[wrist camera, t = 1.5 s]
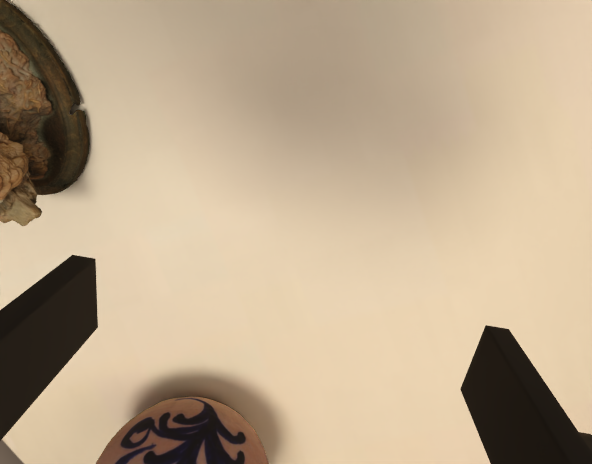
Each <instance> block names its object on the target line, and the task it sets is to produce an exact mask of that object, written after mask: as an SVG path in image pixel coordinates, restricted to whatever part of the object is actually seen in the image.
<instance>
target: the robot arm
mask: <svg viewBox="0 0 592 464" xmlns="http://www.w3.org/2000/svg"><path fill="white" fill-rule="evenodd" d="M97 327H98V322H97V293H96V264H95V259H93V258H87V257H81V256H75V255H72V256H71V257H69V258H68V259H67V260H65V261H64V262H63V263H62V264H60V265H59V266H58V267H56V268H55V269H54V270H52V271H51V272H50V273H48V274H47V275H46V276H45V277H43V278H42V279H41V280H39V281H38V282H37V283H35V284H34V285H33V286H32V287H30V288H29V289H28V290H26V291H25V292H24V293H22V294H21V295H20V296H18V297H17V298H16V299H15V300H13V301H12V302H11V303H9V304H8V305H7V306H5V307H4V308H3V309H1V310H0V440H1V439H2V438H3V437H4V436H5V435H6V434H7V432H8V431H9V430H10V429H11V428H12V427H13V425H14V424H15V423H16V422H17V421H18V420H19V418H20V417H21V416H22V415H23V414H24V413H25V411H26V410H27V409H28V408H29V407H30V406H31V404H32V403H33V402H34V401H35V400H36V399H37V397H38V396H39V395H40V394H41V393H42V392H43V390H44V389H45V388H46V387H47V386H48V385H49V383H50V382H51V381H52V380H53V379H54V378H55V376H56V375H57V374H58V373H59V372H60V371H61V369H62V368H63V367H64V366H65V365H66V364H67V362H68V361H69V360H70V359H71V358H72V357H73V355H74V354H75V353H76V352H77V351H78V350H79V348H80V347H81V346H82V345H83V344H84V343H85V341H86V340H87V339H88V338H89V337H90V336H91V334H92V333H93V332H94V331H95V330H96V329H97ZM461 392H462V394H463V397H464V399H465V402H466V404H467V406H468V409H469V411H470V414H471V416H472V419H473V421H474V424H475V426H476V428H477V431H478V433H479V436H480V438H481V441H482V443H483V446H484V448H485V451H486V453H487V455H488V458H489V460H490V463H491V464H592V435H591V434H586V433H580V432H578V431H577V429H576V428H575V426H574V425H573V423H572V422H571V420H570V419H569V417H568V416H567V414H566V413H565V412H564V410H563V409H562V407H561V406H560V404H559V403H558V401H557V400H556V398H555V397H554V395H553V394H552V392H551V391H550V389H549V388H548V386H547V385H546V384H545V382H544V381H543V379H542V378H541V376H540V375H539V373H538V372H537V370H536V369H535V367H534V366H533V364H532V363H531V361H530V360H529V358H528V357H527V356H526V354H525V353H524V351H523V350H522V348H521V347H520V345H519V344H518V342H517V341H516V339H515V338H514V336H513V335H512V333H511V332H510V330H509V329H504V328H498V327H492V326H487V325H486V326H485V329H484V331H483V334H482V336H481V339H480V341H479V344H478V346H477V349H476V351H475V354H474V356H473V359H472V362H471V364H470V367H469V369H468V372H467V374H466V377H465V379H464V382H463V384H462V387H461Z"/></svg>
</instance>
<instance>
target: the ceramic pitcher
mask: <svg viewBox="0 0 592 464" xmlns="http://www.w3.org/2000/svg"><path fill="white" fill-rule="evenodd" d="M96 464H269V463H268V459H267V456H266V453H265V450H264V448H263V446H262V443H261V441H260V440H259V438H258V436H257V434H256V432H255V430H254V429H253V428H252V427H251V426H250V424H249V423H248V422H247V421H246V420H245V419H244V418H243V417H242V416H241V415H240V414H239V413H238V412H236V411H235V410H233V409H231V408H229V407H228V406H226V405H224V404H222V403H219V402H217V401H214V400H211V399H207V398H201V397H180V398H174V399H169V400H165V401H162V402H160V403H158V404H156V405H154V406H152V407H150V408H148V409H146V410H145V411H143V412H141V413H140V414H138V415H137V416H136V417H134V418H133V419H132V420H130V421H129V422H128V423H127V424H126V425H124V426H123V427H122V428H121V429H120V430H119V431H118V432H117V433H116V435H115V436H114V437H113V438H112V439H111V441H110V442H109V443H108V444H107V446H106V448H105V449H104V451H103V453H102V454H101V456H100V457H99V459H98V461H97V462H96Z"/></svg>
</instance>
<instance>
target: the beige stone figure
mask: <svg viewBox="0 0 592 464" xmlns="http://www.w3.org/2000/svg"><path fill="white" fill-rule="evenodd" d="M80 102H81V101H80V98H79V93H78V90H77V88H76V86H75V84H74V82H73V80H72V78H71V76H70V74H69V72H68V71H67V69H66V68H65V66H64V64H63V63H62V62H61V60H60V57H59V56H58V54H57V53H56V51H55V50H54V48H53V46H52V45H51V44H50V43H49V42H48V40H47V39H46V38H45V37H44V36H43V34H42V33H41V32H40V31H39V30H38V29H37V28H36V27H35V25H34V24H33V23H32V22H31V21H30V20H29V19H28V18H27V16H25V15H24V14H23V13H22V12H20V11H19V9H17V8H16V7H15V6H13V4H10V3H9V2H7V1H6V0H0V221H1V222H3V223H7V222H9V221H11V220H13V221H16V222H17V223H19V224H20V225H22V226H26V225H27V224H28V223H29V222H30V221H32V220H33V219H34V218H38V217H39V216H40V215H41V213H42V211H41V209H40V208H38V207H37V206H36V205H35V203H36V197H37V195H48V194H55V193H58V192H61V191H63V190H65V189H66V188H68V187H69V186H70V185H72V184H73V183H74V182H75V181H77V179H78V177H79V176H80V175H81V173H82V172H83V169H84V167H85V164H86V161H87V157H88V154H89V145H90V144H89V133H88V128H87V125H86V115H85V111H81V110H76V111H75V112H74V114H73V115H70V114H69V112H70V109H71V107H72V106H73V103H75V104H76V105H79V104H80Z"/></svg>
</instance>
